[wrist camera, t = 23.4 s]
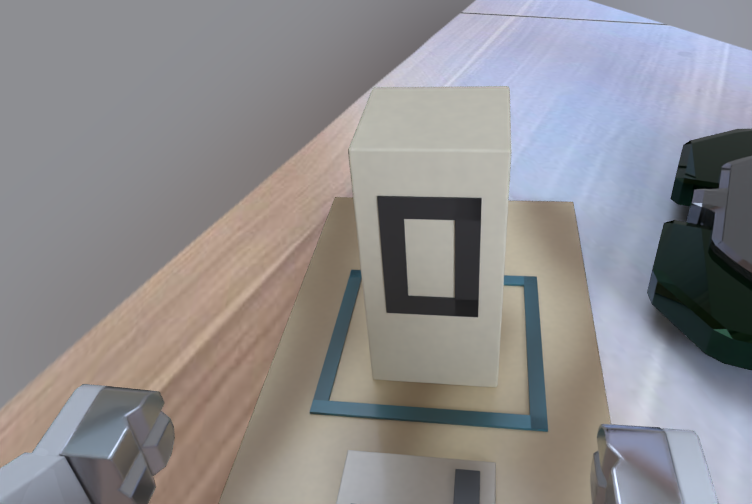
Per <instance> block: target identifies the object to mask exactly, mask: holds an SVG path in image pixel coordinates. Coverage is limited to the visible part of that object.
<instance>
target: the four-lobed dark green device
mask: <svg viewBox="0 0 752 504" xmlns="http://www.w3.org/2000/svg"><path fill="white" fill-rule="evenodd" d="M671 200H673V201H674V202H675V203H677V204H680V205H685V206H690V209H689V213H688V217H687V221H686V222H683V221H677V220H673V221H669V222H665V223H664V225H663V229H662V233H661V237H660V241H659V245H658V249H657V253H656V257H655V261H654V265H653V269H652V274H651V278H650V283H649V287H648V291H647V293H648V296H649V298H650V301H651V303H652V305H654V306H655V307H656V308H657V309H658V310H659V311H660V312H661V313H662V314H663V315H664V316H665V317H666V318H667V319H669V320H670V321H671V322H672V323H673V324H674V325H675V326H676V327H677V328H678V329H679V330H680V331H681V332H683V333H684V334H685V335H686V336H687V337H688V338H689V339H690V340H691V341H692V342H693V343H694V344H695V345H696V346H697V347H699V348H700V349H701V350H702V351H703V352H704V353H705V354H707V355H709V356H711V357H713V358H715V359H717V360H718V361H720V362H722V363H724V364H728V365H732V366H736V367H740V368H744V369H748V370H752V129H736V130H732V131H728V132H723V133H719V134H715V135H711V136H707V137H703V138H699V139H695V140H691V141H689V142H687V143H686V144H684V145H683V149H682V153H681V157H680V161H679V165H678V169H677V173H676V177H675V182H674V186H673V190H672V195H671Z"/></svg>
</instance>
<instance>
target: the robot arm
mask: <svg viewBox="0 0 752 504" xmlns="http://www.w3.org/2000/svg"><path fill="white" fill-rule="evenodd" d="M163 405H164V401H163V398H162V396H161V394H160V392H158V391H149V390H140V389H130V388H121V387H111V386H100V385H88V384H83V385H81V386H80V387H79V388H77V389H76V390H75V391H74V392H73V394H72V395H71V397H70V398H69V399H68V401H67V402H66V404H65V405H64V407H63V408H62V410H61V411H60V413H59V414H58V416H57V417H56V418H55V420H54V421H53V423H52V424H51V426H50V427H49V429H48V430H47V432H46V433H45V434H44V436H43V437H42V439H41V440H40V442H39V443H38V445H37V446H36V448H35V449H34V451H33V452H32V453H23V454H22V455H20V456H19V457H17V458H16V459H14V460H13V461H11V462H9V463H8V464H6V465H5V466H3V467H2V468H0V504H148V503H149V501H150V499H151V496H152V494H153V492H154V490H155V488H156V485H155V481H154V477H153V476H154V475H156V474H157V473H158V472H159V471H161V470H162V469H163V468H165V467H166V465H167V463H168V461H169V458H170V456H171V454H172V449H173V444H174V439H175V436H174V426H173V424H172V421H171V418H169V417H168V416H167V415H166V414H164V413H163V412H162V411H161V409H162V407H163ZM597 444H598V451H596V452H595V453H593V457H592V463H591V475H590V486H591V499H592V504H719V502H718V499H717V496H716V492H715V489H714V486H713V483H712V479H711V476H710V473H709V469H708V466H707V463H706V460H705V456H704V453H703V450H702V446H701V443H700V440H699V437H698V435H697V434H696V433H695V431H691V430H677V429H664V428H663V429H661V428H659V427H643V426H627V425H611V424H601V425H600V427H599V429H598V433H597Z"/></svg>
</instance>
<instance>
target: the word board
mask: <svg viewBox="0 0 752 504" xmlns="http://www.w3.org/2000/svg"><path fill="white" fill-rule="evenodd" d="M601 424H611V421H610V415H609V410H608V404H607V398H606V392H605V386H604V380H603V374H602V368H601V362H600V357H599V351H598V345H597V339H596V333H595V327H594V321H593V315H592V310H591V304H590V298H589V292H588V286H587V280H586V274H585V268H584V262H583V257H582V251H581V245H580V239H579V233H578V227H577V221H576V215H575V209H574V204H573V202H554V201H508V217H507V234H506V251H505V268H504V286H503V303H502V320H501V337H500V354H499V372H498V386H497V387H480V386H465V385H450V384H435V383H420V382H405V381H390V380H375V379H373V377H372V369H371V360H370V350H369V341H368V332H367V323H366V313H365V304H364V295H363V285H362V276H361V267H360V257H359V248H358V239H357V229H356V220H355V211H354V201H353V198H347V197H335V199H334V201H333V204H332V207H331V209H330V212H329V214H328V217H327V220H326V222H325V225H324V228H323V230H322V233H321V235H320V238H319V241H318V243H317V246H316V248H315V251H314V254H313V256H312V259H311V262H310V264H309V267H308V269H307V272H306V275H305V277H304V280H303V283H302V285H301V288H300V290H299V293H298V296H297V298H296V301H295V304H294V306H293V309H292V311H291V314H290V317H289V319H288V322H287V324H286V327H285V330H284V332H283V335H282V338H281V340H280V343H279V345H278V348H277V351H276V353H275V356H274V359H273V361H272V364H271V366H270V369H269V372H268V374H267V377H266V380H265V382H264V385H263V387H262V390H261V393H260V395H259V398H258V400H257V403H256V406H255V408H254V411H253V414H252V416H251V419H250V421H249V424H248V427H247V429H246V432H245V435H244V437H243V440H242V442H241V445H240V448H239V450H238V453H237V456H236V458H235V461H234V463H233V466H232V469H231V471H230V474H229V476H228V479H227V482H226V484H225V487H224V490H223V492H222V495H221V497H220V500H219V503H218V504H592V499H591V486H590V475H591V463H592V457H593V453H595V452H596V451H598V444H597V433H598V429H599V427H600V425H601Z"/></svg>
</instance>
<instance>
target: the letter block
mask: <svg viewBox="0 0 752 504" xmlns="http://www.w3.org/2000/svg"><path fill="white" fill-rule="evenodd" d="M348 155H349V164H350V173H351V183H352V192H353V201H354V211H355V220H356V229H357V239H358V248H359V257H360V267H361V276H362V285H363V295H364V304H365V313H366V323H367V332H368V341H369V350H370V360H371V369H372V377H373V379H375V380H390V381H405V382H420V383H435V384H450V385H465V386H480V387H497V386H498V372H499V354H500V337H501V320H502V303H503V286H504V268H505V251H506V234H507V217H508V200H509V183H510V165H511V123H510V89H509V87H508V86H486V87H374V88H373V89H372V91H371V94H370V97H369V99H368V102H367V104H366V107H365V109H364V112H363V114H362V117H361V119H360V122H359V124H358V127H357V129H356V132H355V134H354V137H353V139H352V142H351V144H350V147H349V149H348Z"/></svg>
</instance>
